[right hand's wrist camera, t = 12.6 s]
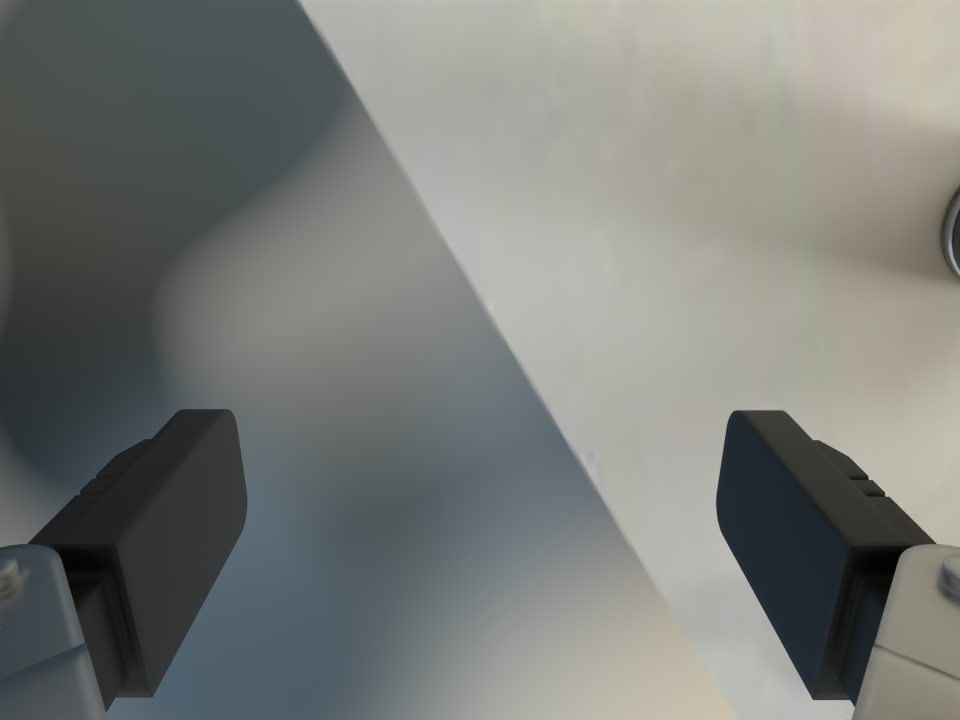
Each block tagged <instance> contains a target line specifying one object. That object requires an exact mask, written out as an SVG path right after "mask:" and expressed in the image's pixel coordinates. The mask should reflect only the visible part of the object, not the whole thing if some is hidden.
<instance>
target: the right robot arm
mask: <svg viewBox="0 0 960 720" xmlns="http://www.w3.org/2000/svg"><path fill="white" fill-rule="evenodd" d="M942 247H943V253H944V256H945V259H946V262H947V264H948V266H949V267H950V269H951V270H952V272H953V273H954V274H955V275H956V276H957V277H958V278H959V279H960V190H959V192H958V193H957V195H956V196H955V198H954V200H953V201H952V203H951V205H950V207H949V210H948V212H947V215H946V218H945V221H944V225H943V231H942ZM868 477H869V476H868V475H867V474H866V473H865V472H864V471H863V470H862V469H861V468H860V467H859V466H858V465H857V464H856V463H855V462H854V461H853V460H852V459H851V458H850V457H848V456H846V455H845V454H843V453H841V452H839V451H837V450H835V449H834V448H832V447H830V446H828V445H826V444H825V443H823V442H821V441H819V440H812V439H811V438H810V437H809V436H808V435H807V433H806V432H805V431H804V430H803V429H802V428H801V427H800V426H799V425H798V424H797V423H796V422H795V421H794V420H793V419H792V418H791V417H790V416H789V415H788V414H787V413H786V412H785V411H783V410H736V411H734V412H733V413H732V414H731V415H730V417H729V420H728V424H727V429H726V436H725V442H724V449H723V456H722V462H721V469H720V476H719V482H718V489H717V497H716V509H717V518H718V523H719V527H720V530H721V532H722V534H723V536H724V538H725V540H726V542H727V544H728V546H729V547H730V549H731V551H732V553H733V555H734V556H735V558H736V560H737V562H738V564H739V566H740V567H741V569H742V571H743V573H744V575H745V577H746V578H747V580H748V582H749V584H750V586H751V588H752V589H753V591H754V593H755V595H756V597H757V598H758V600H759V602H760V604H761V606H762V608H763V609H764V611H765V613H766V615H767V617H768V619H769V620H770V622H771V624H772V626H773V628H774V629H775V631H776V633H777V635H778V637H779V639H780V640H781V642H782V644H783V646H784V648H785V650H786V651H787V653H788V655H789V657H790V659H791V660H792V662H793V664H794V666H795V668H796V670H797V671H798V673H799V675H800V677H801V679H802V681H803V682H804V684H805V686H806V688H807V690H808V691H809V693H810V695H811V697H812V699H813V700H851V702H852V703H853V705H854V707H855V710H854V713H853V717H852V720H960V548H959V547H954V546H949V545H940V544H936V543H935V542H934V541H933V540H932V539H931V538H930V537H929V536H928V535H927V534H926V533H925V532H924V531H923V530H922V529H921V528H920V527H919V526H918V525H917V524H916V523H915V522H914V521H913V520H912V519H911V518H910V517H909V516H908V515H907V514H906V513H905V512H904V511H903V510H902V509H901V508H900V507H899V506H898V505H897V504H896V503H895V502H894V501H893V500H892V499H891V498H890V497H885V492H884V491H883V490H882V489H881V488H880V487H879V486H878V485H877V484H876V483H875V482H874V481H873V480H869V479H868ZM246 513H247V491H246V484H245V477H244V470H243V464H242V457H241V450H240V443H239V437H238V430H237V424H236V420H235V417H234V415H233V413H232V412H231V411H230V410H228V409H182V410H179V411H178V412H177V413H176V414H175V415H174V416H173V417H172V418H171V419H170V420H169V421H168V422H167V423H166V424H165V425H164V427H163V428H162V429H161V430H160V431H159V432H158V433H157V434H156V435H155V436H154V437H153V438H152V439H145V440H143V441H141V442H139V443H138V444H136V445H134V446H132V447H130V448H129V449H127V450H125V451H123V452H121V453H120V454H118V455H116V456H115V457H114V458H113V459H112V460H111V461H110V462H109V463H108V464H107V465H106V466H105V467H104V468H103V469H102V470H101V471H100V472H99V473H98V474H97V475H96V479H92V480H91V481H90V482H89V483H88V484H87V485H86V486H85V487H84V488H83V489H82V490H81V491H80V495H76V496H75V497H74V498H73V499H72V500H71V501H70V502H69V503H68V504H67V505H66V506H65V507H64V508H63V509H62V510H61V511H60V512H59V513H58V514H57V515H56V516H55V517H54V518H53V519H52V520H51V521H50V522H49V523H48V524H47V525H46V526H45V527H44V528H43V529H42V530H41V531H40V532H39V533H38V534H37V535H36V536H35V537H34V538H33V539H32V540H31V541H30V542H29V543H28V544H20V545H11V546H6V547H1V548H0V720H108V717H107V714H106V712H107V710H108V709H109V707H110V706H111V704H112V702H113V701H114V699H115V697H153V695H154V693H155V691H156V690H157V688H158V686H159V684H160V682H161V680H162V679H163V677H164V675H165V673H166V671H167V669H168V667H169V666H170V664H171V662H172V660H173V658H174V656H175V655H176V653H177V651H178V649H179V647H180V645H181V643H182V642H183V640H184V638H185V636H186V634H187V632H188V630H189V629H190V627H191V625H192V623H193V621H194V619H195V618H196V616H197V614H198V612H199V610H200V608H201V607H202V605H203V603H204V601H205V599H206V597H207V595H208V594H209V592H210V590H211V588H212V586H213V584H214V582H215V581H216V579H217V577H218V575H219V573H220V571H221V570H222V568H223V566H224V564H225V562H226V560H227V559H228V557H229V555H230V553H231V551H232V549H233V547H234V546H235V544H236V542H237V540H238V538H239V536H240V534H241V532H242V530H243V527H244V524H245V519H246Z"/></svg>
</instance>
